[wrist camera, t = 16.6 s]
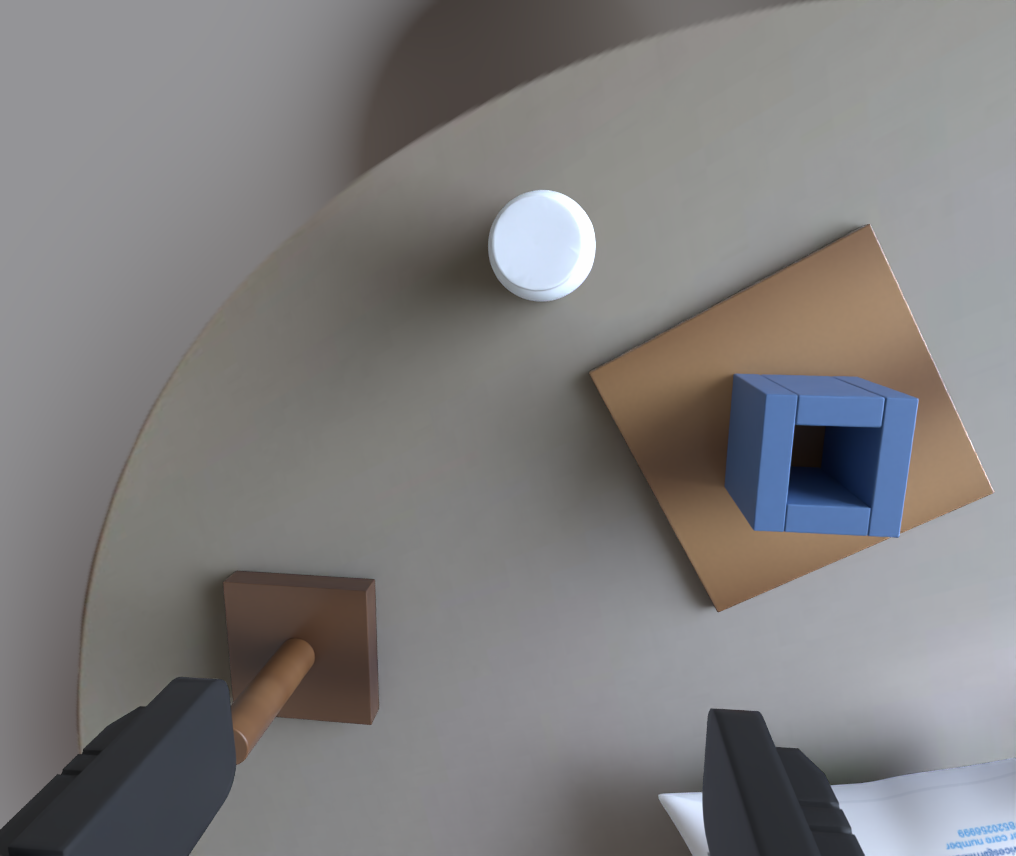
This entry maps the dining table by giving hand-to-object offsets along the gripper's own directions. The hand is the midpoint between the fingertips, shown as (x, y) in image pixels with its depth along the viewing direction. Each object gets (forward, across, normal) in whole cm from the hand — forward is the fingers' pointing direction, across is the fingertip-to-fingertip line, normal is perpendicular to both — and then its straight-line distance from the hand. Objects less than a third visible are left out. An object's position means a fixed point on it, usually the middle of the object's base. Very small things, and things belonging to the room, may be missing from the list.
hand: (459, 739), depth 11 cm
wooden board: (+24, -12, 0) cm, 26 cm away
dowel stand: (+24, +13, +13) cm, 30 cm away
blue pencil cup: (+23, -12, 0) cm, 26 cm away
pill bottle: (+24, 0, -8) cm, 25 cm away
